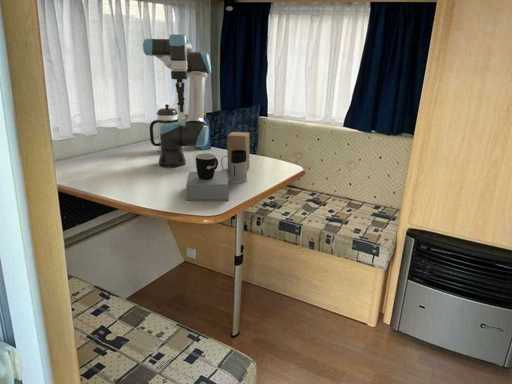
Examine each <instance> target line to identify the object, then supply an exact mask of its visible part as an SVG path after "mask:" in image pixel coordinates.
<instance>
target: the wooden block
mask: <svg viewBox="0 0 512 384" xmlns="http://www.w3.org/2000/svg"><path fill="white" fill-rule="evenodd" d="M226 137H227V139H226V140H227V142H226V143H227V144H226V145H227V150H226V151H227V156H228V157H229V159H230V163H231V151H233V150H245V151H246V156H247V171H248V170H249V169H250V132H241V131H231V132H230V133H228V134H227V136H226ZM228 157H227V158H228ZM230 163H229V160H228V159H227V173H229V172H230V173H231V164H230Z"/></svg>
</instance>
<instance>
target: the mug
mask: <svg viewBox="0 0 512 384" xmlns="http://www.w3.org/2000/svg"><path fill="white" fill-rule="evenodd" d="M218 167H219V160H218V158H217V156H216V154H213V153H209V152H203V153H202V152H201V153H198V154H196V155H195V168H196V172H197V174H198V177H199V178H200V179H203V180H209V179H212V178H213V176H214V173H215V171H216V170H217V168H218Z"/></svg>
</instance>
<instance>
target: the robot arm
mask: <svg viewBox="0 0 512 384" xmlns="http://www.w3.org/2000/svg"><path fill="white" fill-rule="evenodd" d="M142 50H143V51H142V52H143V54H145V56H150V57H151V56H152V57H153V56H154V57H156V58H157V59H158V60H160V61H162V63H163V64H164V66H165V67H166V68H168V69H169V70H171V71H170V76H171V77H170V78H171V80H176V82H175V88H176V89H175V90H176V93H177V103H176V106H177V110H178V111H177V112H178V115H179V116H178V120H185V123H184V124H185V125H182V124H181V122H179V121H178V122H175V123H168V124H164V125H162V126H161V127H160V141H161V149H160V155H159V159H158V166H160V167H162V168H177V167H182V166H183V167H184V166H186V163H187V162H186V161H187V160H186V157H185V154H184V152H183V147H191V148H192V147H193V148H197V147H203V146H205V145H206V144H207V141H208V135H209V127H208V126H206V122H205V121H204V111H205V91H206V90H205V88H206V79H207V78H208V76H209V74H211V73H212V65H211V60H210V55H209V53H208V52H206V51H192V50H193V48H192V43H191V42H190V41H189V40H188V39H187V36H186V35H185V34H177V33H176V34H173V33H172V34H169V36H168V38H144V40H143V42H142ZM188 79H189V87H188V89H189V90H188V92H189V94H188V113H187V114H188V115H187V116H188V117H187V120H186V113H185V97H184V96H185V95H184V93H185V83H184V82H183V80H188Z"/></svg>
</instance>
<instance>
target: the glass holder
mask: <svg viewBox="0 0 512 384" xmlns="http://www.w3.org/2000/svg"><path fill="white" fill-rule="evenodd" d="M224 158H227V161H228V160H229V163H230V159H229V157H228V155H224V156H222V157H221V160H220V165H221V167H222V171H226V169H225V168H224V164H223V159H224ZM230 164H231V172H230V173H229V172H227V175H229V176H230V183H234V184H244V183H247V182H248V180H249V179H248V178H247V177H248V176H247V175H248V173H247V171H248V170H247V156H246V151H245V150H233V151H231V163H230Z"/></svg>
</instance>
